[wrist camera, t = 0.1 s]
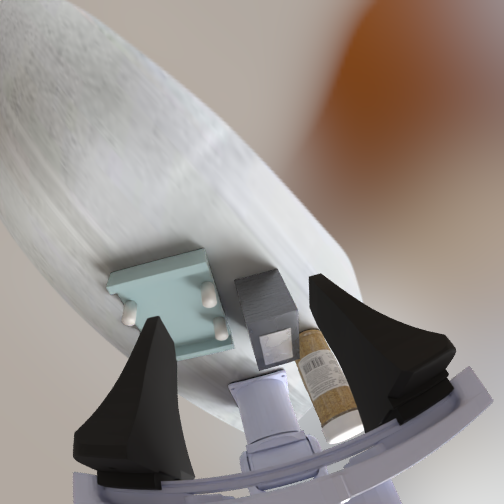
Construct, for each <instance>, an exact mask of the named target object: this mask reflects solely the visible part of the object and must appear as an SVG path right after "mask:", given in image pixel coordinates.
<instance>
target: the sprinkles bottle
mask: <svg viewBox="0 0 504 504" xmlns="http://www.w3.org/2000/svg"><path fill="white" fill-rule="evenodd" d="M299 346H300V359H298V360H295V362H296V364H297V367H298V371H299V374H300V376H301V379H302V381H303V383H304V386H305V388H306V390H307V392H308V394H309V396H310V399H311V401H312V403H313V406H314V408H315V410H316V412H317V415H318V417H319V420H320V422H321V427H322V432H323V434H324V436H325V438H326V441H327V442H328V443H329V444H334V443H338V442H342V441H344V440H347V439H349V438H351V437H353V436H355V435H357V434H358V433H360V432H361V431H363V430H364V428H363V424H362V421H361V418H360V415H359V412H358V409H357V406H356V403H355V400H354V398H353V395H352V392H351V390H350V387H349V385H348V382H347V380H346V378H345V376H344V374H343V372H342V371H341V369H340V367H339V365H338V363H337V361H336V359H335V357H334V355H333V353H332V352H331V351H330V349H329V347H328V345H327V343H326V341H325V339H324V336H323V334H322V332H321V331H319V330H306V331H304V332H301V333H300V334H299Z"/></svg>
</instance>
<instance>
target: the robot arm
mask: <svg viewBox="0 0 504 504" xmlns="http://www.w3.org/2000/svg"><path fill="white" fill-rule="evenodd" d="M309 304H310V309H311V312H312V314H313V317H314V319H315V321H316V323H317V325H318V327H319V329H320V331H321V332H322V334H323V336H324V338H325V339H326V341H327V343H328V344H329V346H330V348H331V350H332V351H333V353H334V355H335V356H336V358H337V360H338V362H339V364H340V366H341V368H342V371H343V373H344V375H345V378H346V380H347V382H348V385H349V387H350V390H351V392H352V395H353V398H354V400H355V403H356V406H357V409H358V412H359V415H360V418H361V421H362V424H363V428H364V431H365V434H363V435H361V436H358V437H356V438H354V439H352V440H349V441H347V442H344V443H342V444H339V445H337V446H334V447H332V448H329V449H327V450H324V451H322V449H321V447H320V444H319V442H318V440H317V439H316V437H314V436H312V435H310V434H308V435H306V436H305V433H304V431H303V430H302V431H301V429H300V426H299V423H298V420H297V417H296V415H295V412H294V409H293V406H292V404H291V401H290V398H289V394H288V384H287V375H286V371H285V370H281V371H278V372H275V373H271V374H267V375H264V376H260V377H256V378H252V379H249V380H245V381H240V382H236V383H232V384H229V385H228V388H229V390H230V392H231V394H232V396H233V398H234V400H235V401H236V403H237V405H238V407H239V411H240V415H241V419H242V423H243V427H244V432H245V435H246V440H247V443H248V445H246V448H247V451H245V452H243V453H242V455H241V456H240V466H241V471H242V473H238V474H232V475H226V476H219V477H212V478H203V479H194V478H195V475H194V472H193V469H192V466H191V462H190V459H189V456H188V452H187V448H186V445H185V440H184V436H183V431H182V426H181V421H180V415H179V409H178V398H177V397H178V396H177V360H176V352H175V345H174V341H173V340H172V338H171V336H170V334H169V333H168V331H167V329H166V327H165V325H164V324H163V322H162V320H161V318H160V316H154V317H150V318H147V320H146V322H145V324H144V326H143V329H142V331H141V333H140V335H139V338H138V340H137V342H136V344H135V347H134V349H133V351H132V353H131V355H130V357H129V359H128V361H127V363H126V365H125V367H124V369H123V371H122V373H121V375H120V377H119V378H118V380H117V382H116V383H115V385H114V387H113V388H112V390H111V391H110V392H109V394H108V395H107V397H106V398H105V399H104V401H103V402H102V404H101V405H100V406H99V407H98V409H97V410H96V411H95V412H94V413H93V414H92V416H91V417H90V418H89V419H88V420H87V421H86V422H85V423H84V424H83V425H82V426H81V427H80V428H79V429H78V430H77V431H76V432H75V434H74V445H73V457H74V459H75V460H76V461H78V462H80V463H81V464H83V465H86V466H88V467H90V468H92V469H95V470H97V476H96V475H92V474H86V473H78V472H74V473H73V499H74V501H73V502H74V504H402V502H401V500H400V498H399V496H398V493H397V491H396V489H395V487H394V485H393V482H392V480H391V479H392V478H393V477H395V476H397V475H399V474H400V473H402V472H404V471H406V470H407V469H409V468H411V467H412V466H414V465H415V464H417V463H418V462H420V461H421V460H423V459H425V458H426V457H427V456H429V455H430V454H432V453H433V452H435V451H436V450H438V449H439V448H440V447H441V446H443V445H444V444H446V443H447V442H448V441H450V440H451V439H452V438H453V437H454V436H456V435H457V434H458V433H460V432H461V431H462V430H463V429H464V428H466V427H467V426H468V425H469V424H470V423H471V422H473V421H474V420H475V419H476V418H477V417H478V416H479V415H480V414H481V413H482V412H484V410H486V409H487V408H488V407H489V406H490V405H491V404H492V403H493V399H492V397H491V396H490V394H489V393H488V391H487V390H486V388H485V387H484V386H483V384H482V383H481V381H480V380H479V378H478V377H477V375H476V374H475V373H474V371H473V370H472V368H471V367H470V366H468V367H467V368H465V369H464V370H463V371H462V372H460V373H459V374H458V375H456V376H455V377H454V378H453V379H452V380H451V381H449V380H448V378H447V377H448V375H449V373H448V372H447V370H446V368H447V366H448V365H449V363H450V362H451V360H452V359H453V357H454V355H455V353H456V348H455V347H454V346H453V344H452V343H451V342H450V340H449V339H448V338H447V337H446V336H445V335H444V334H439V333H434V332H429V331H426V330H422V329H419V328H415V327H412V326H409V325H407V324H404V323H402V322H399V321H396V320H394V319H392V318H389V317H387V316H385V315H383V314H381V313H379V312H377V311H376V310H373V309H372V308H370V307H368V306H367V305H365V304H364V303H362V302H360V301H359V300H357V299H356V298H354V297H353V296H351V295H350V294H348V293H347V292H345V291H344V290H343V289H341V288H340V287H339V286H337V285H336V284H334V283H333V282H332V281H330V280H329V279H328V278H326V277H325V276H324V275H322V274H321V273H320V274H317V275H314V276H310V277H309ZM367 449H368V450H367ZM364 450H366V451H364ZM362 451H364V452H362ZM360 452H362V453H360ZM358 453H360V454H358ZM355 454H358V455H356V456H355V457H353V458H351V459H350V460H349V463H348V464H346V465H345V466H344V469H342V470H340V471H337V472H334V473H331V474H328V471H327V466H328V465H331V464H333V463H336V462H339V461H341V460H343V459H346V458H348V457H351V456H353V455H355ZM311 477H314V479H313V480H310V481H307V482H303V483H299V484H296V485H293V486H289V487H285V488H281V489H277V490H273V491H269V492H265V491H263V490H268V489H272V488H276V487H281V486H284V485H288V484H292V483H295V482H298V481H302V480H305V479H308V478H311ZM242 488H248V489H249V492H250V495H251V496H246V497H241V498H234V497H232V496H222V495H221V494H213V495H212V494H211V495H193V494H205V493H214V492H223V491H230V490H236V489H242Z"/></svg>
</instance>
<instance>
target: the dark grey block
mask: <svg viewBox="0 0 504 504" xmlns="http://www.w3.org/2000/svg"><path fill="white" fill-rule="evenodd" d="M235 284H236V288H237V292H238V296H239V300H240V304H241V308H242V311H243V315H244V319H245V323H246V327H247V330H248V334H249V337H250V341H251V345H252V348H253V352H254V355H255V358H256V362H257V365H258V369H259V371H260V370H264V369H268V368H271V367H275V366H278V365H282V364H285V363H288V362H292V361H295V360H298V359H300V346H299V322H298V309H297V307H296V305H295V303H294V301H293V299H292V297H291V295H290V293H289V291H288V289H287V287H286V285H285V283H284V281H283V279H282V277H281V275H280V273H279V271H278V269H275V270H271V271H267V272H264V273H260V274H256V275H252V276H248V277H245V278H241V279H237V280H235Z"/></svg>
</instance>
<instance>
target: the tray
mask: <svg viewBox="0 0 504 504" xmlns="http://www.w3.org/2000/svg"><path fill="white" fill-rule="evenodd" d="M106 288H107V290H108V291H109V293H110V295H112V294H116V293H117V294H118V296H119V297H120V299H121V301H122V302H123V304H124V310H123V316H122V322H123V324H125V325H127V326H133V325H134V324H136V325H137V327H138V329H139V330H140V332H141V331H142V329H143V326H144V324H145V322H146V320H147V318H150V317H154V316H160V318H161V320H162V322H163V324H164V325H165V327H166V329H167V331H168V333H169V334H170V336H171V338H172V340H173V341H174V345H175V352H176V360H177V361H180V360H185V359H190V358H195V357H200V356H204V355H209V354H213V353H218V352H222V351H226V350H230V349H234V343H233V339H232V335H231V331H230V328H229V325H228V322H227V319H226V316H225V313H224V310H223V307H222V304H221V301H220V298H219V295H218V292H217V288H216V285H215V282H214V279H213V276H212V272H211V269H210V266H209V263H208V259H207V256H206V253H205V249H204V248H203V249H199V250H195V251H191V252H187V253H183V254H179V255H176V256H172V257H168V258H164V259H160V260H157V261H153V262H149V263H145V264H141V265H138V266H134V267H130V268H127V269H123V270H119V271H115V272H112V273H111V274H110V277H109V280H108V283H107V286H106Z"/></svg>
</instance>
